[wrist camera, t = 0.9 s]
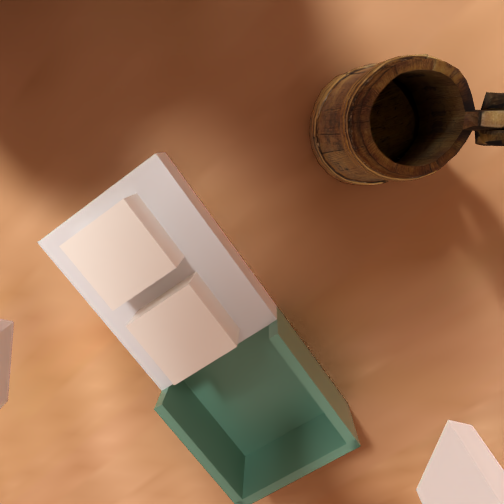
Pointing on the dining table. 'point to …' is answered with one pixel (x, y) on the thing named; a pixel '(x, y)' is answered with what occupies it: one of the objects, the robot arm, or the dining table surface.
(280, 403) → the box
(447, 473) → the robot arm
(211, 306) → the tile
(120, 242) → the tile
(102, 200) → the board
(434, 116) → the wooden mug
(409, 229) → the dining table surface
